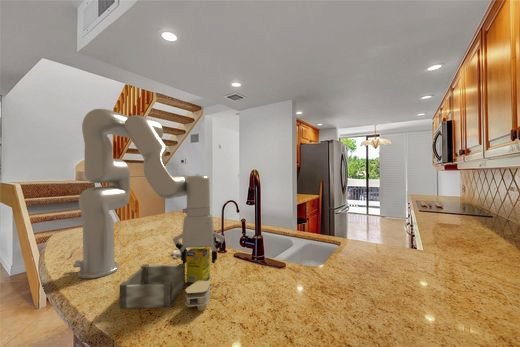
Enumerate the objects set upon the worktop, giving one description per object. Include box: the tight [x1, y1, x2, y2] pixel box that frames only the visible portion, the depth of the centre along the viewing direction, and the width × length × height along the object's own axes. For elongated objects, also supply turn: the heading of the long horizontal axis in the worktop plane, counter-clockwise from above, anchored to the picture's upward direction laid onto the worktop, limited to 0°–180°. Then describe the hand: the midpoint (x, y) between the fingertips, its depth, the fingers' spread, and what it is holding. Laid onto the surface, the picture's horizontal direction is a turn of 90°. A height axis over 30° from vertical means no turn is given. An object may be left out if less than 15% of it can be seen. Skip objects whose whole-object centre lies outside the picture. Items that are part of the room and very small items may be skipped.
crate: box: [119, 263, 186, 309], centre depth 69 cm, size 14×14×6 cm
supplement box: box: [185, 247, 211, 286], centre depth 77 cm, size 6×6×11 cm
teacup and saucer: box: [172, 247, 188, 260], centre depth 101 cm, size 9×8×4 cm
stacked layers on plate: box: [184, 280, 212, 312], centre depth 63 cm, size 10×9×6 cm
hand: (199, 262), depth 77 cm, fingers open, 9 cm apart
